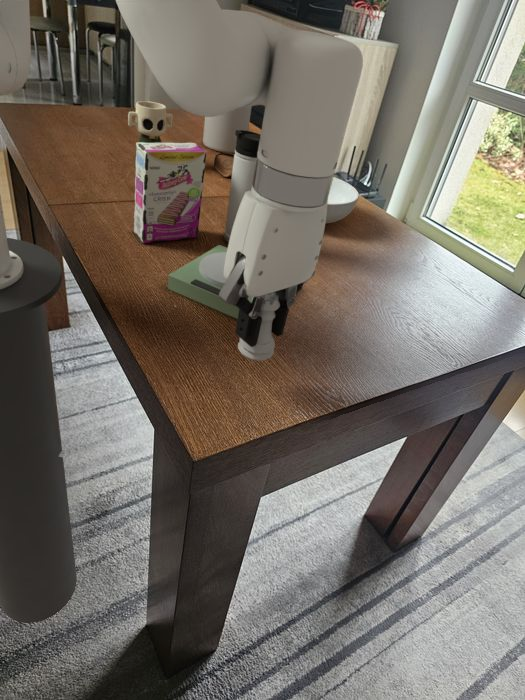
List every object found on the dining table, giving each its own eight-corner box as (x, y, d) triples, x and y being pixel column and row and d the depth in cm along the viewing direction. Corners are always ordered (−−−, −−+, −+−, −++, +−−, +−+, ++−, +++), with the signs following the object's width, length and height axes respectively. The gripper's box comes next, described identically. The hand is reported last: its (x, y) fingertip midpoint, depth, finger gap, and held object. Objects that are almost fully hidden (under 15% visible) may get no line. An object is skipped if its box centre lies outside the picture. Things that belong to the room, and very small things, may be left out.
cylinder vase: (193, 144, 144) (201, 43, 129) (219, 138, 153) (229, 43, 138) (229, 156, 140) (241, 54, 125) (253, 150, 149) (267, 53, 134)
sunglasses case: (225, 176, 124) (223, 148, 123) (215, 182, 131) (212, 155, 130) (288, 177, 132) (287, 150, 131) (276, 182, 138) (274, 156, 137)
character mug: (131, 165, 122) (132, 107, 114) (124, 155, 127) (124, 99, 119) (175, 165, 127) (178, 110, 119) (166, 156, 132) (168, 102, 124)
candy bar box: (143, 245, 90) (145, 151, 80) (133, 233, 93) (133, 141, 84) (199, 238, 96) (207, 150, 86) (188, 227, 99) (194, 141, 89)
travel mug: (218, 233, 99) (230, 126, 87) (249, 232, 102) (265, 128, 90) (228, 248, 95) (242, 137, 83) (260, 247, 97) (279, 139, 85)
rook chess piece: (270, 366, 59) (284, 310, 55) (233, 357, 59) (244, 300, 55) (275, 345, 63) (289, 290, 58) (240, 336, 63) (251, 281, 58)
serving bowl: (276, 190, 124) (281, 162, 120) (358, 213, 120) (366, 184, 116) (246, 217, 108) (251, 185, 104) (340, 244, 104) (349, 212, 100)
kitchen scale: (243, 322, 76) (246, 303, 74) (167, 288, 80) (168, 270, 78) (286, 284, 87) (290, 267, 85) (217, 257, 91) (219, 240, 89)
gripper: (320, 162, 56) (286, 302, 67) (199, 176, 46) (182, 337, 57) (373, 188, 52) (327, 332, 63) (253, 209, 42) (223, 376, 53)
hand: (259, 333), depth 60 cm, fingers closed on rook chess piece, 3 cm apart
